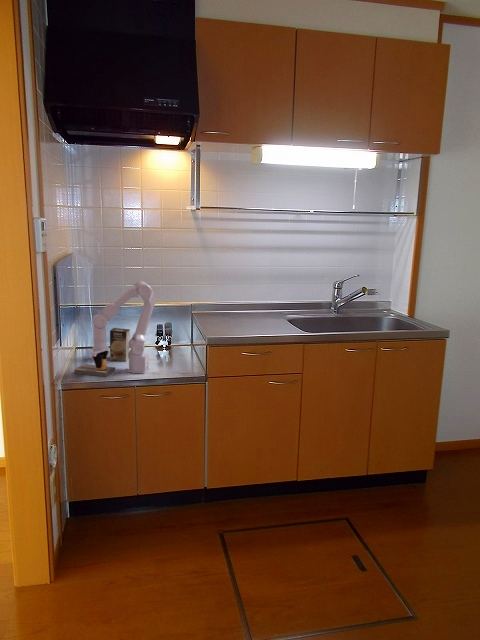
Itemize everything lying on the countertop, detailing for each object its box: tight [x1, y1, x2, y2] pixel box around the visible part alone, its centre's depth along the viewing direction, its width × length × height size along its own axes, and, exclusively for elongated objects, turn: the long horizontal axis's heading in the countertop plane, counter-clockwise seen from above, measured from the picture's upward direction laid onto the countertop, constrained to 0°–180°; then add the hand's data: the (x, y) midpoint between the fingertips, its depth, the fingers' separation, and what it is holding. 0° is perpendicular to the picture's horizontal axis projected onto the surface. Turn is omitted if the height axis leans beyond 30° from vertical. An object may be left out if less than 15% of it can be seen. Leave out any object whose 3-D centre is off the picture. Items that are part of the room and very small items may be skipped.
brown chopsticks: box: [85, 363, 116, 371], centre depth 249 cm, size 16×2×1 cm, turn 80°
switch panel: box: [74, 364, 114, 378], centre depth 243 cm, size 16×8×2 cm, turn 80°
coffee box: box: [109, 327, 131, 362], centre depth 264 cm, size 9×6×16 cm
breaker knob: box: [96, 358, 107, 370], centre depth 241 cm, size 4×3×4 cm
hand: (100, 366), depth 242 cm, fingers closed on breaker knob, 3 cm apart
